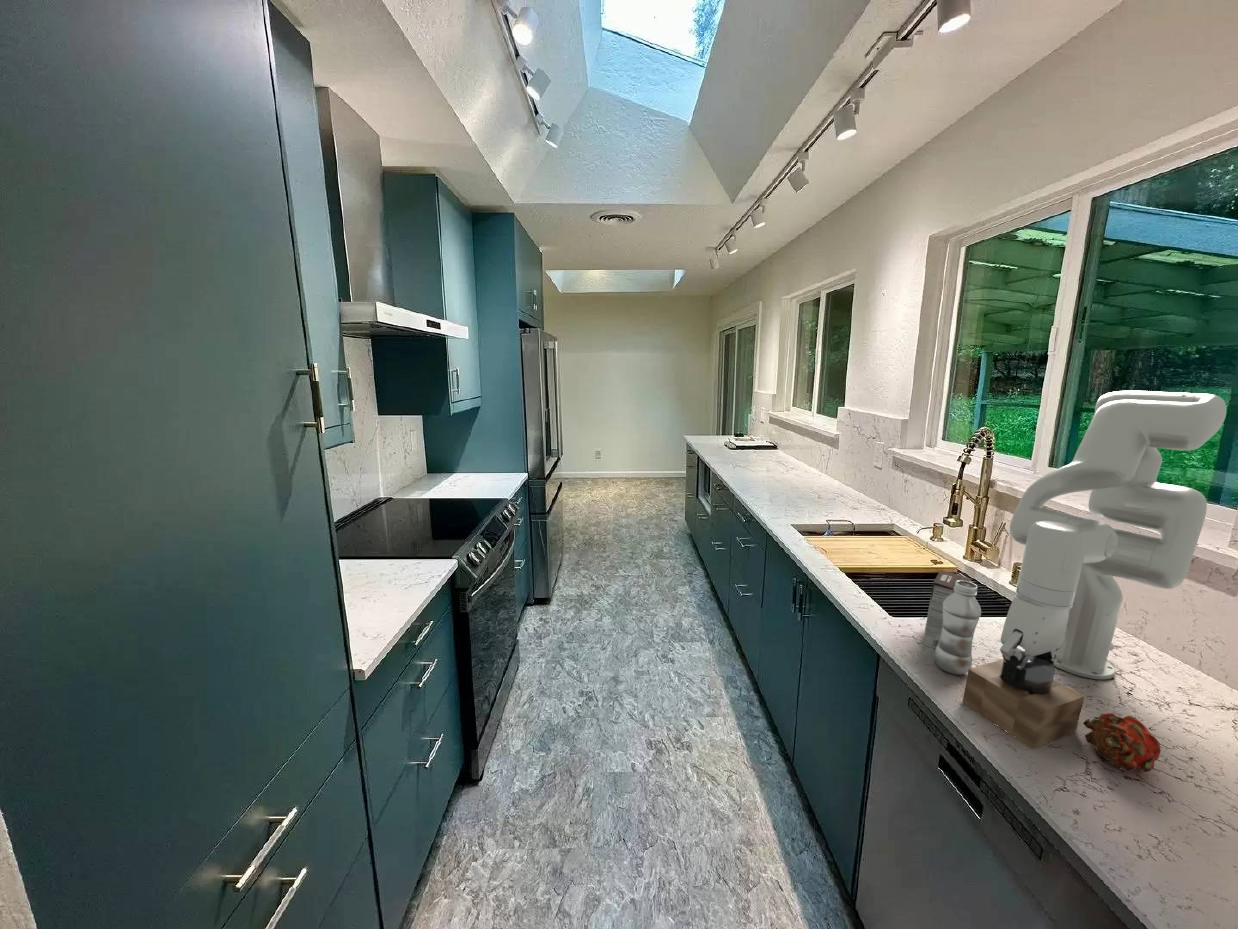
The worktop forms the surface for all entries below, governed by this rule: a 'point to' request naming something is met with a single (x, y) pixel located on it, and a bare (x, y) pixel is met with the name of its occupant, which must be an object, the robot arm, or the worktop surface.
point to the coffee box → (939, 606)
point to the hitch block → (1022, 706)
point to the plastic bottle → (958, 629)
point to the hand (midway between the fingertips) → (1025, 679)
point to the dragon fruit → (1123, 742)
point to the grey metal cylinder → (1036, 675)
